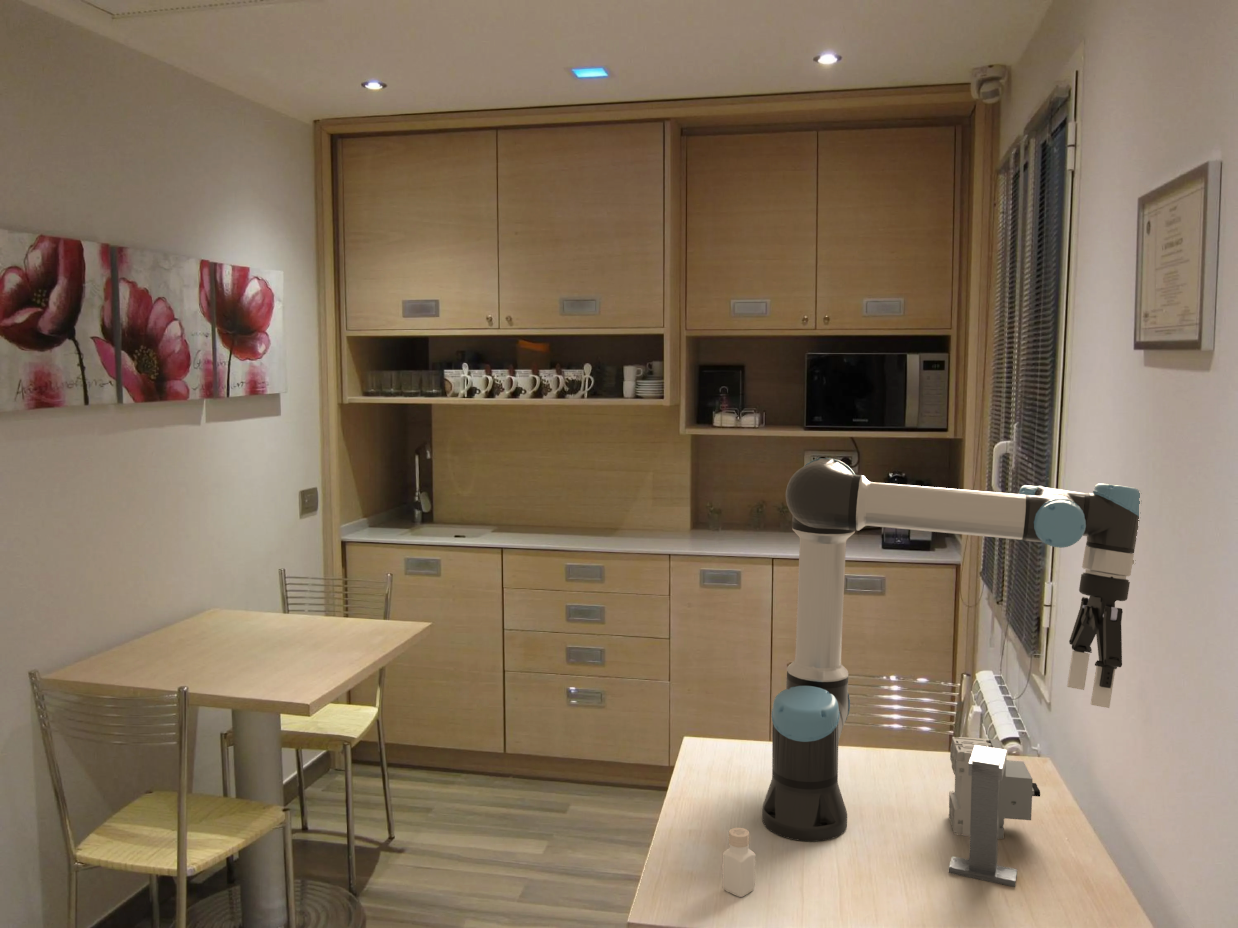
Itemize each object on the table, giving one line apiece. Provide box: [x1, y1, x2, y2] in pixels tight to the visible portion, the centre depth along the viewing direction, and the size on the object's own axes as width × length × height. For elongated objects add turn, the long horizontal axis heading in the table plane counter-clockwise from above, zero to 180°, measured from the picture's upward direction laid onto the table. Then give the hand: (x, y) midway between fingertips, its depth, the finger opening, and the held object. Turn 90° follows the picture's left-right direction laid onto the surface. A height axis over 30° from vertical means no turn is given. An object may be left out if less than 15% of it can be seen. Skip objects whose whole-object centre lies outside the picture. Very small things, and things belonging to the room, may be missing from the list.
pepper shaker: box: [722, 827, 756, 898], centre depth 153 cm, size 4×4×10 cm
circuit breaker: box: [948, 736, 1041, 840], centre depth 173 cm, size 8×14×15 cm, turn 78°
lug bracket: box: [948, 745, 1018, 888], centre depth 160 cm, size 10×10×19 cm
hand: (1087, 696), depth 168 cm, fingers open, 13 cm apart
